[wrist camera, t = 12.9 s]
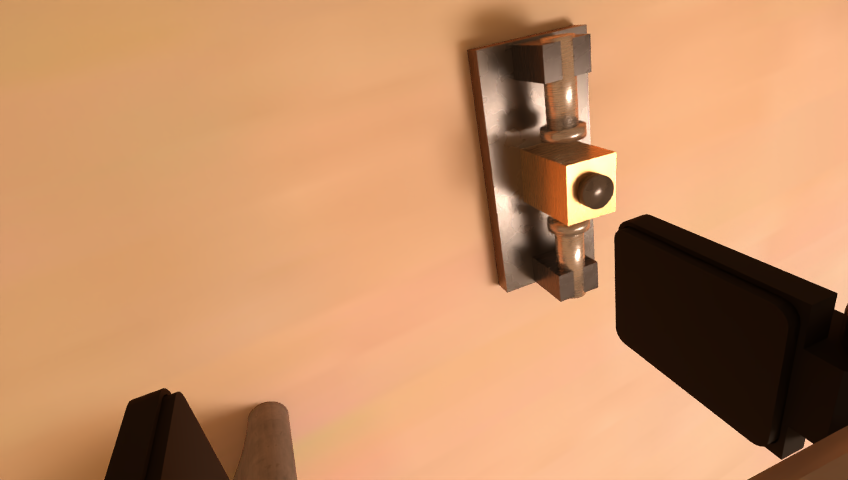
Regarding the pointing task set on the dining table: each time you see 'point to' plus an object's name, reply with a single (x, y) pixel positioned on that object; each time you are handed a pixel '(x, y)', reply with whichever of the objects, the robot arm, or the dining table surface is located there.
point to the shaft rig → (527, 126)
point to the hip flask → (267, 445)
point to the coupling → (569, 180)
